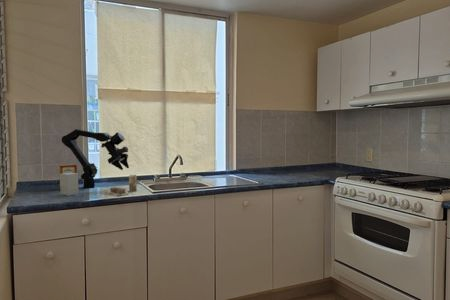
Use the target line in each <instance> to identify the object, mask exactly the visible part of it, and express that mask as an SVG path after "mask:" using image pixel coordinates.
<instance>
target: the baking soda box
mask: <svg viewBox="0 0 450 300" xmlns="http://www.w3.org/2000/svg"><path fill="white" fill-rule="evenodd" d="M58 165H59V175H60V174H63V173H78V172H77V170H78V168H77V164H76V163H67V164H58ZM59 189H60V190H61V188H60V187H59Z"/></svg>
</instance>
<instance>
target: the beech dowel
mask: <svg viewBox="0 0 450 300" xmlns="http://www.w3.org/2000/svg"><path fill="white" fill-rule="evenodd" d="M128 185H129V186H128V188H129V190H128V191H129V192H136V191H137V190H138V189H137V174H130V175H129V176H128Z"/></svg>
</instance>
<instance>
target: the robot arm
mask: <svg viewBox="0 0 450 300" xmlns="http://www.w3.org/2000/svg"><path fill="white" fill-rule="evenodd" d="M80 136H81V137H85V138H91V139H94V140H96V141H98V142H101V148H105V149H106V151H107V154H108V155H110V157H109V158H107V163H108V164H110V165H112V166H114V167H116V168H118V169H119V170H120V171H123V170H124V168H123V166H124V167H125V168H126V169H130V165H129V163H128V158H129V155H128V152H129V148H128V147H127V146H122V148H119V147H116V146H119V145H120V144H122V143H123V142H124V141H125V140H126V139H125V137H124V136H123V135H122V134H121V133H120V132H119V131H118V132H116V133H115V134H114V135H110V134H109V133H108V132H94V131H89V130H84V129H79V128H76V129H73V131H70V132H69V133H67V134H65V135H63V136H62V137H61V143H62V144H63V145H64V146H66V147H67V148H68V149H69V150H70V151H71V153H73V155H74V156H75V158H76V159H77V161H78V162H79V164H80V165H81V167H82V171H83V173H82V174H81V175H80V178H81V180H82V188H83V189H92V188H95V186H96V185H95V184H96V183H95V178H96V175H97V173H98V169H97V168H98V167H97V166H96V165H95V163H90V162H89V160H88V159H87V158H86V156H85V154H84V153H83V152H82V150H81V149H80V148H79V146H78V145H77V139H78V138H79V137H80ZM122 165H123V166H122Z"/></svg>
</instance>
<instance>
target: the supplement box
mask: <svg viewBox="0 0 450 300" xmlns="http://www.w3.org/2000/svg"><path fill="white" fill-rule="evenodd" d="M60 188H61V189H60ZM59 189H60V195H63V196H67V197H69V196H74V195H79V194H80V193H79V173H78V172H77V173H63V174H60V173H59Z"/></svg>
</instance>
